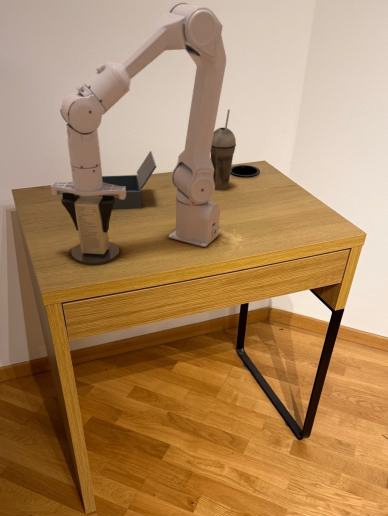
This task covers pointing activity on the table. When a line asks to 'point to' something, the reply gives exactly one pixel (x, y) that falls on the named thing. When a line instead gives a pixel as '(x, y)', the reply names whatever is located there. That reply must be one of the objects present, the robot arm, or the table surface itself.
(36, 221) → the table surface
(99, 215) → the box
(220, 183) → the beverage cup
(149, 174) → the flap
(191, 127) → the robot arm
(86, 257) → the coaster
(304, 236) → the table surface
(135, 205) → the carton
